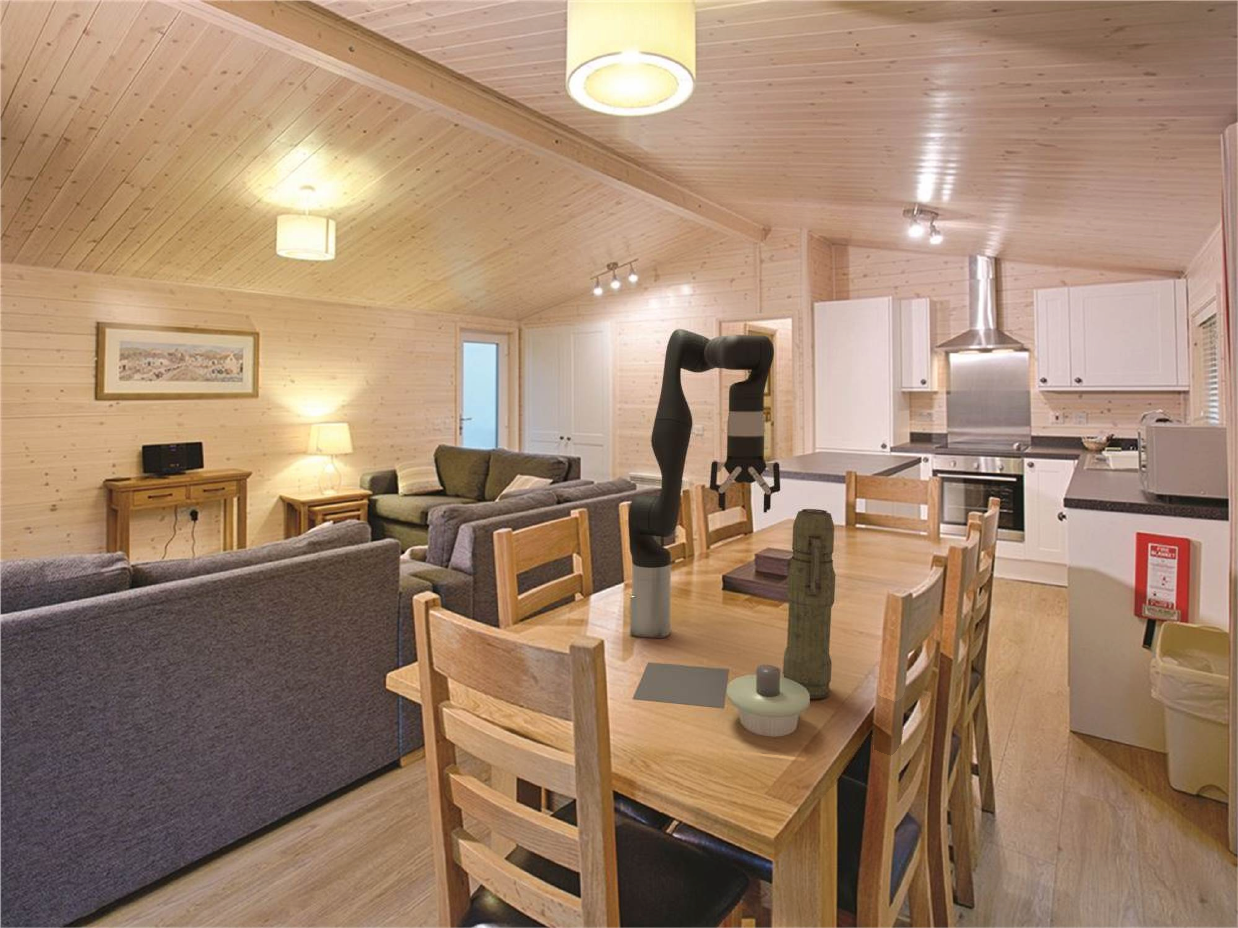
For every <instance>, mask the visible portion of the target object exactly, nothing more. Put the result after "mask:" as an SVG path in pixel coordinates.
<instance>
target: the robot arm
mask: <svg viewBox="0 0 1238 928" xmlns="http://www.w3.org/2000/svg"><path fill="white" fill-rule="evenodd" d="M667 342H668V343H667V346H666V350H665V355H664V356H665V357H664V366H663V373H662V380H661V381H662V383H661V388H660V396H659V400H658V404H657V409H656V412H655V413H656V414H655V417H654V421H653V422H654V423H653V427H652V432H651V437H650V439H651V440H650V442H651V448H652V451H653V452H652V453H653V454H654V457H655V459H656V461H657V464H658V467H659V471H660V475H661V489H660V496H653V495H637V496H635V497H634V498H633V499H632V501H631V502H630V504H629V508H628V517H627V521H628V523H627V524H628V539H629V540H628V541H629V551H630V555H631V562H632V564H631V569H632V570H631V572H632V573H631V575H632V576H631V585H632V586H631V587H632V589H631V590H632V591H631V592H632V593H631V594H630V597H629V599H630V600H629V602H630V604H629V607H630V608H629V609H630V610H629V611H630V612H629V615H630V616H629V618H630V620H629V621H630V623H629V627H630V628H629V630H630V631H629V633H630V635H631V636H636V637H638V638H642V639H651V640H652V639H654V640H655V639H656V640H657V639H663V638H665V637H669V635H670V634H671V597H672V596H671V595H672V594H671V593H672V592H671V590H672V588H671V586H672V585H671V581H672V580H671V577H672V576H671V575H672V572H671V571H672V568H671V567H672V566H671V564H672V563H671V562H672V561H671V560H672V558H671V551H670V550H668V549H667V548H666V547H664V546H662V545H661V544H660V543H659V542H658V541H657V540H656V539H655V537H660V538H661V537H662V538H668V537H671V536H672V535H673V533H674V532H675V530H676V528H677V525H678V521H679V515H680V507H681V499H682V498H681V496H682V495H681V494H682V485H683V477H684V476H683V475H684V472H685V471H684V470H685V466H686V465H685V464H686V459H687V453H688V450H689V449H688V448H689V445H690V440H691V434H692V430H693V423H694V421H693V417H692V416H693V415H692V412H691V409H690V406H689V404H688V401H687V398H686V396H685V394H684V390H683V387H682V379H681V377H682V376H681V375H682V374H681V373H682V372H681V371H682V369H683V370H684V371H685V370H686V371H689V372H691V373H697V374H698V373H704V372H707V371H710V370H713V369H724V370H731V371H732V370H733V371H750V373H749V375H748V377H747V379H745V380H742V381H738V382H733V383H732V384H731V385H730V386H729V390H728V415H727V416H728V417H727V422H726V423H727V426H726V430H727V433H726V460H725V462H724V461H718V460H713V461H712V462H711V464H710V465H711V466H710V467H711V468H710V476H709V479H710V481H709V489H710V490H712V491H714V492H717V493H718V500H717V501H718V504H717V505H718V508H719V509H721V512H725V511H726V507H727V506H726V503H727V502H726V499H727V498H726V497H727V492H726V490H727V489H728V488H729V486H730V485H732V484H733V481H734V482H736V483H740V484H741V483H746V484H747V483H748V484H753V483H755V482H756V483H757V484H758V485H759V487H760V488H761V489H762V490H763V492H764V493H763V513H764V514H765V513H768V511H770V510H771V508H772V507H771V506H772V505H771V501H772V495H773V494H775V493H779V492H780V491H781V474H780V473H781V472H780V463H779V462H778V461H774V462H766V461H765V432H766V428H765V426H766V425H765V415H764V414H765V413H764V411H765V409H764V408H765V406H764V405H765V404H764V403H765V389H766V385H767V382H768V377H769V373H770V370H771V367H772V364H773V361H774V357H775V356H774V355H775V349H774V345H773V341H772V340H771V339H770V337H768V336H766V335H764V334H762V335H761V334H730V335H729V334H728V335H725V336H724V335H721V336H716V337H714V338H711V339H709V338H707V337H706V336H705V335H701V334H698V333H695V332H693V331H689V330H685V329H682V328H677V329H674V331H673V332H672V333H671V335H670V337H669V340H668V341H667ZM723 468H725V469H724V470H726V472H727V473H728V476H727V478H725V480H724V481H723V482H722V483H721V485H720V484H718V473H720V472H721V471H722V469H723ZM766 469H768V471H769V473H771V474H773V485H772V486H769V484H768V483H767V482H766V481H765V478H764V477H763V476H762V475H763V473H764V471H765V470H766Z"/></svg>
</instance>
